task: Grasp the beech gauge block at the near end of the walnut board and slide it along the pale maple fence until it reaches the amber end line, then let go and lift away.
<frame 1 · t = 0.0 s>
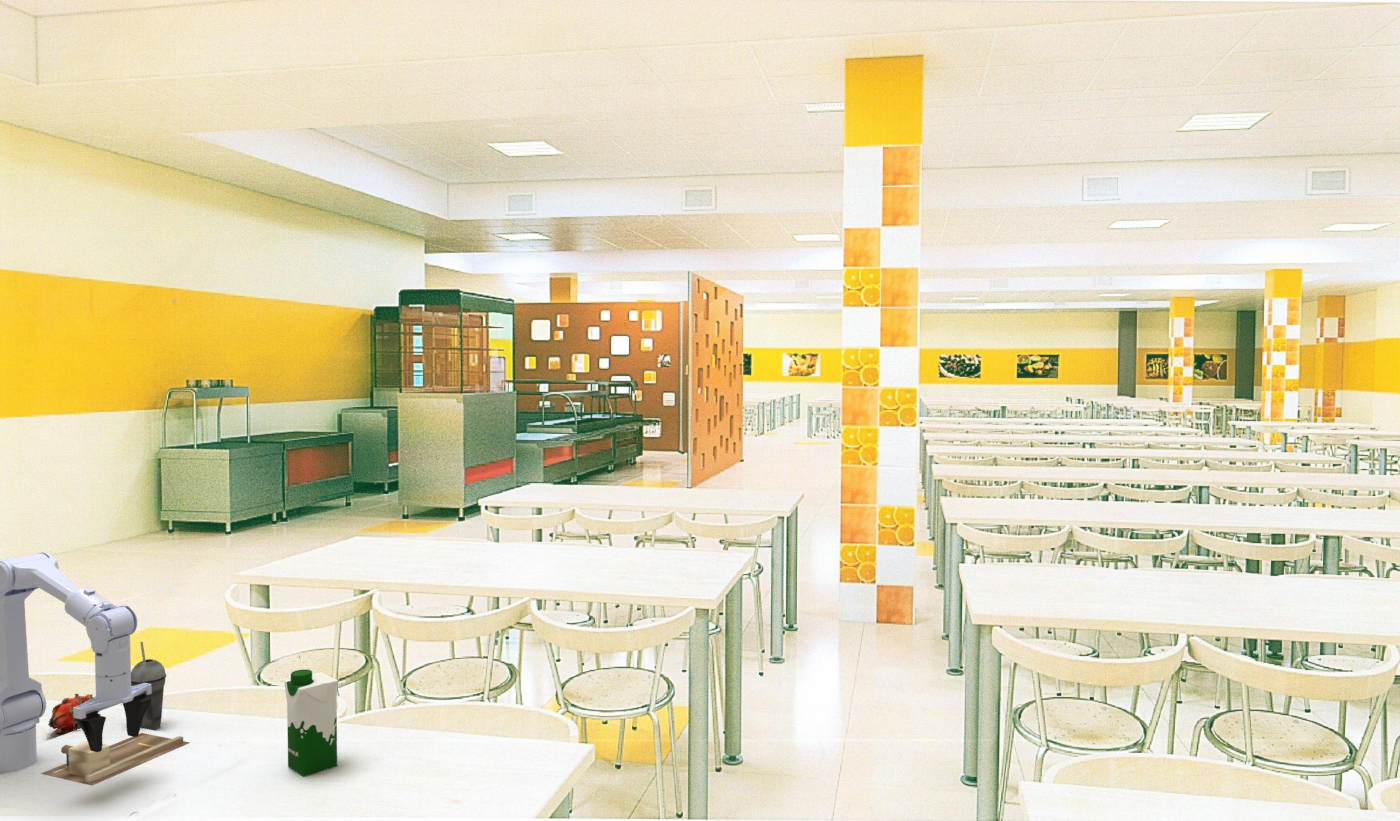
hand: (114, 742, 182), 10 cm above the table, tool pointing down, fingers open, 7 cm apart
walnut board: (118, 764, 196), on the table
gauge block: (89, 771, 189), point 1 cm above the table, touching walnut board
milk carton: (313, 767, 196), on the table
beverage cup: (149, 729, 215), on the table
dragon fruit: (74, 731, 214), on the table
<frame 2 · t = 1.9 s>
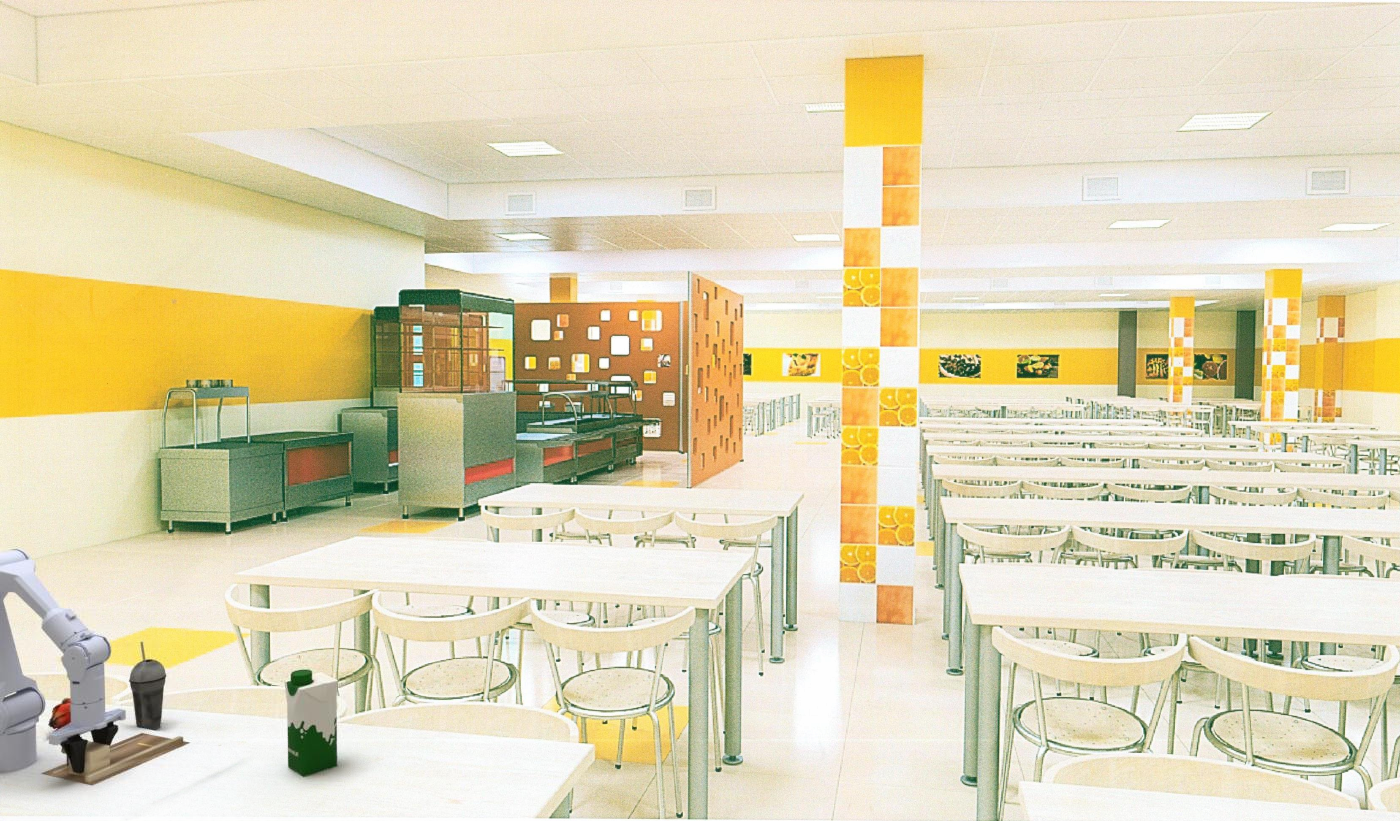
hand: (89, 767, 189), 2 cm above the table, tool pointing down, fingers closed on gauge block, 4 cm apart
gauge block: (89, 771, 189), point 1 cm above the table, touching gripper, walnut board
everything else where it was.
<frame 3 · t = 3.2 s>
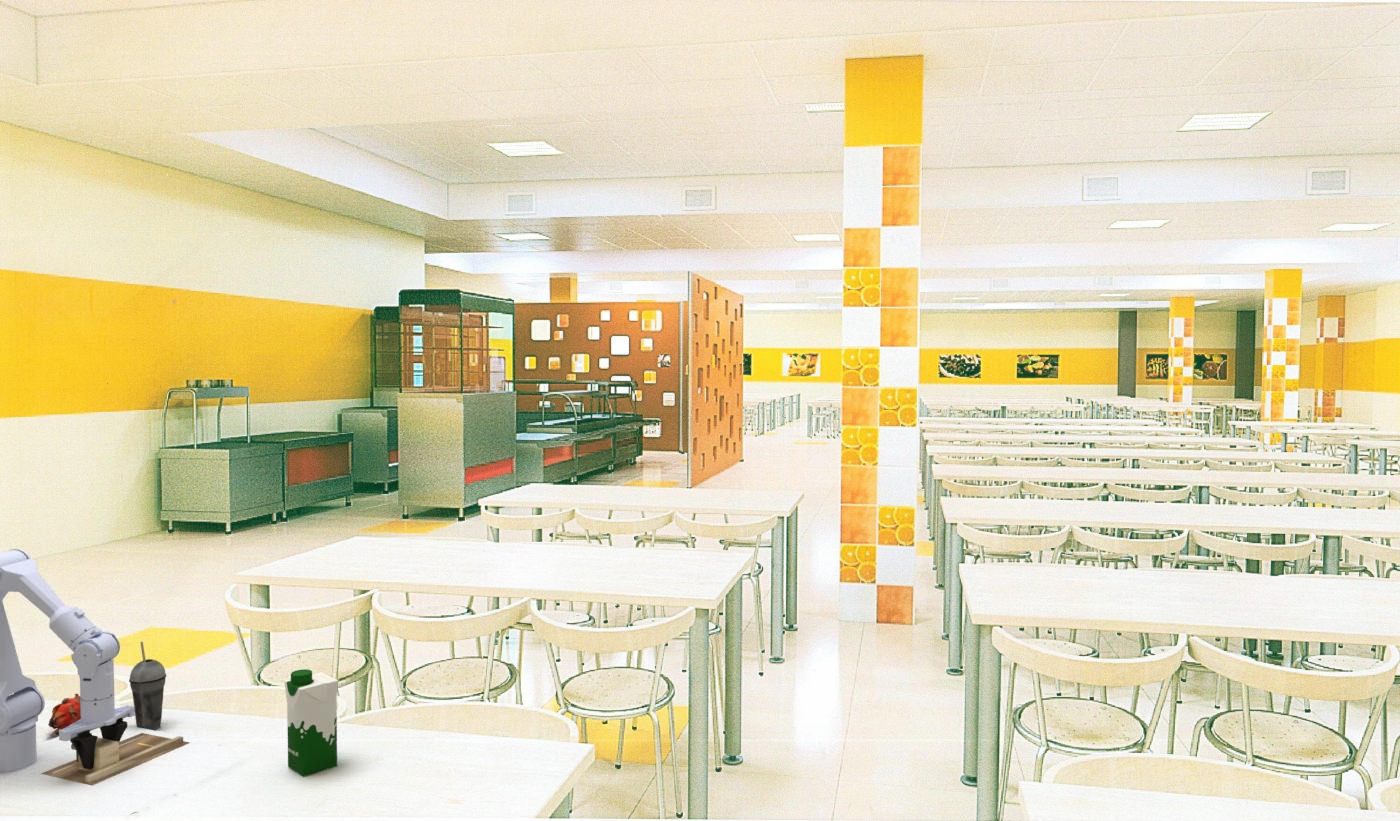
hand: (99, 763, 191), 2 cm above the table, tool pointing down, fingers closed on gauge block, 4 cm apart
gauge block: (99, 767, 191), point 2 cm above the table, touching gripper
everything else where it was.
when the fingers open (2 cm above the table, at t = 4.9 s): gauge block stays where it is, resting on walnut board.
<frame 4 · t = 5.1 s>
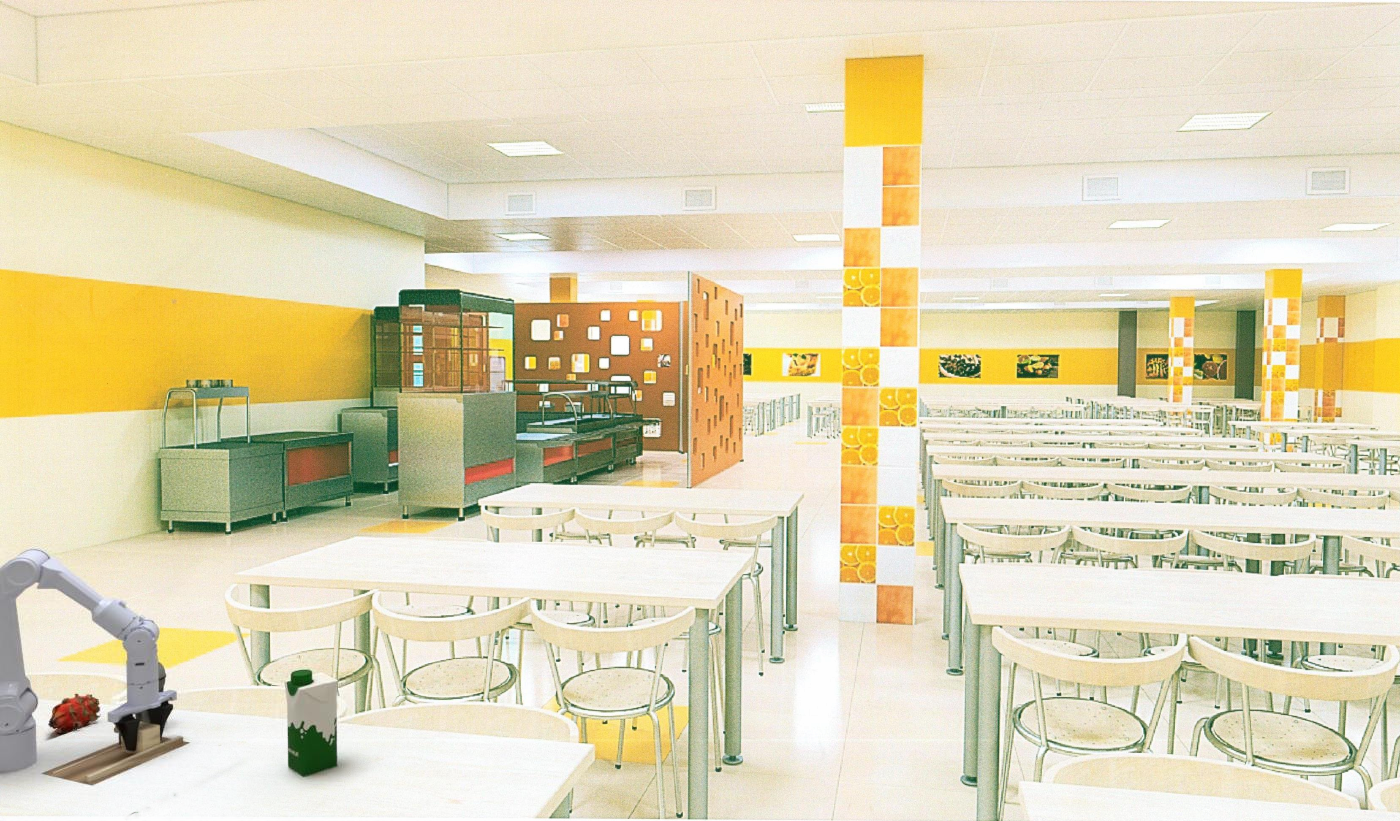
hand: (144, 744, 200), 2 cm above the table, tool pointing down, fingers open, 5 cm apart
gauge block: (141, 749, 200), point 2 cm above the table, touching gripper, walnut board
everything else where it was.
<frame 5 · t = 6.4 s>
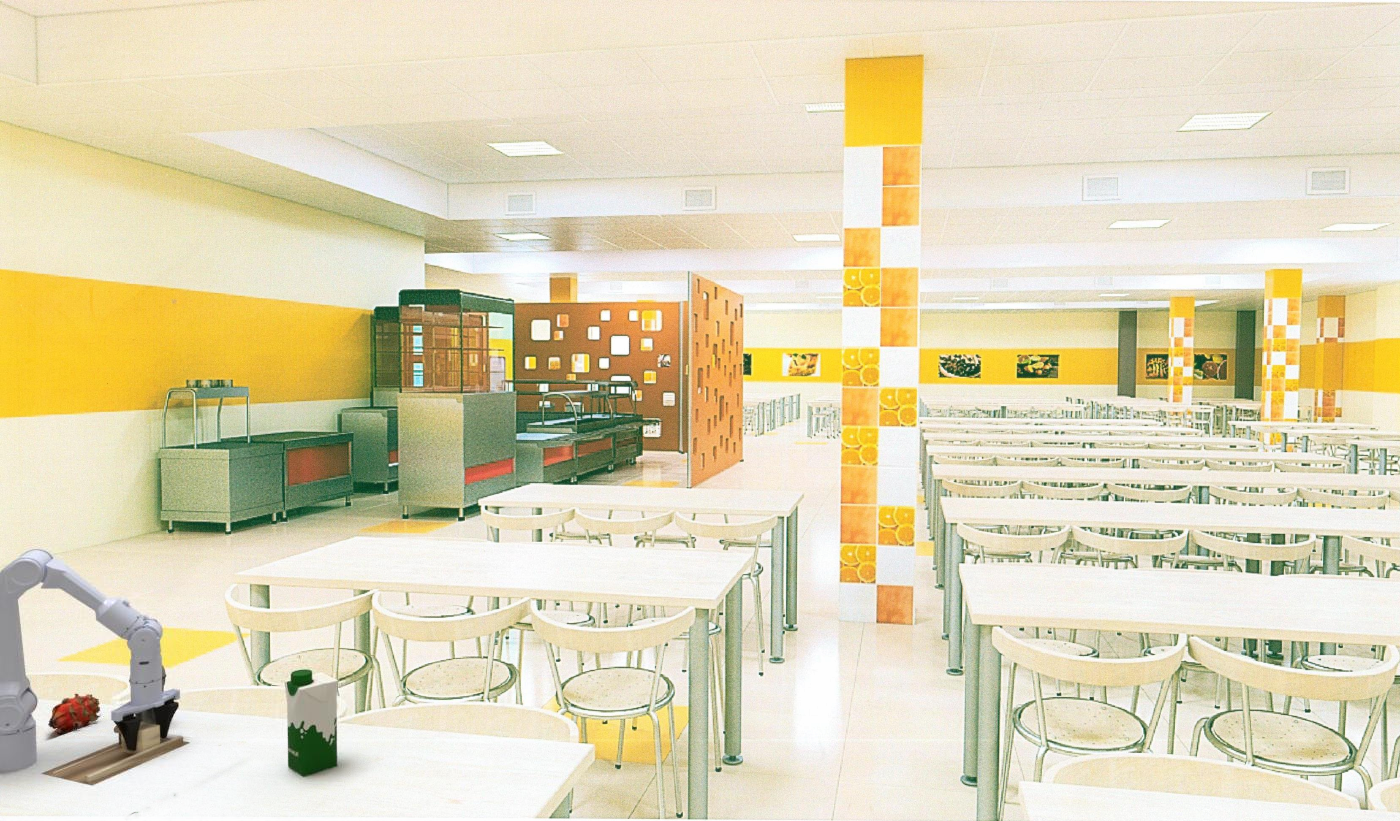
hand: (147, 743, 201), 2 cm above the table, tool pointing down, fingers open, 6 cm apart
nothing on the table moved.
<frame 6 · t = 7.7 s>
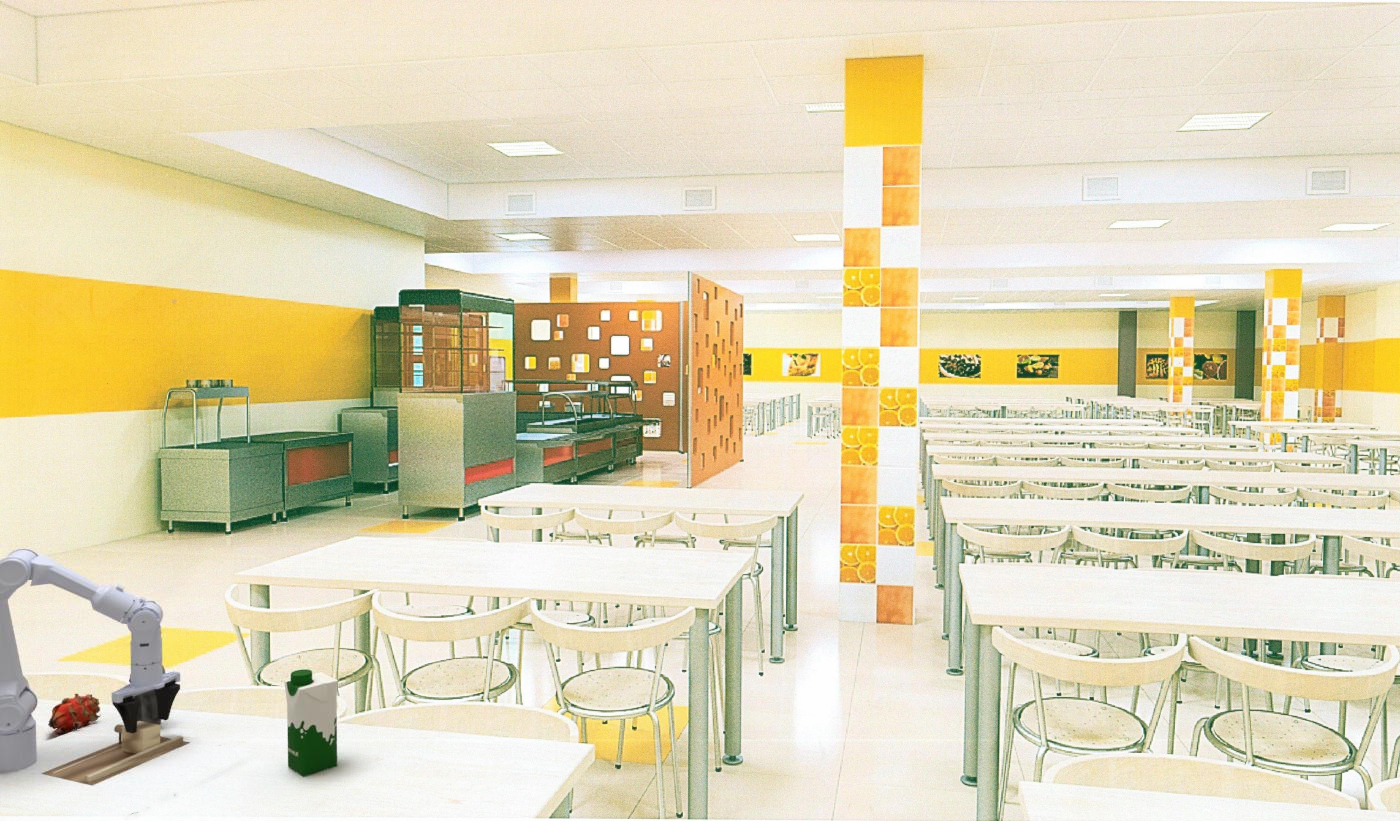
hand: (147, 725, 201), 6 cm above the table, tool pointing down, fingers open, 7 cm apart
nothing on the table moved.
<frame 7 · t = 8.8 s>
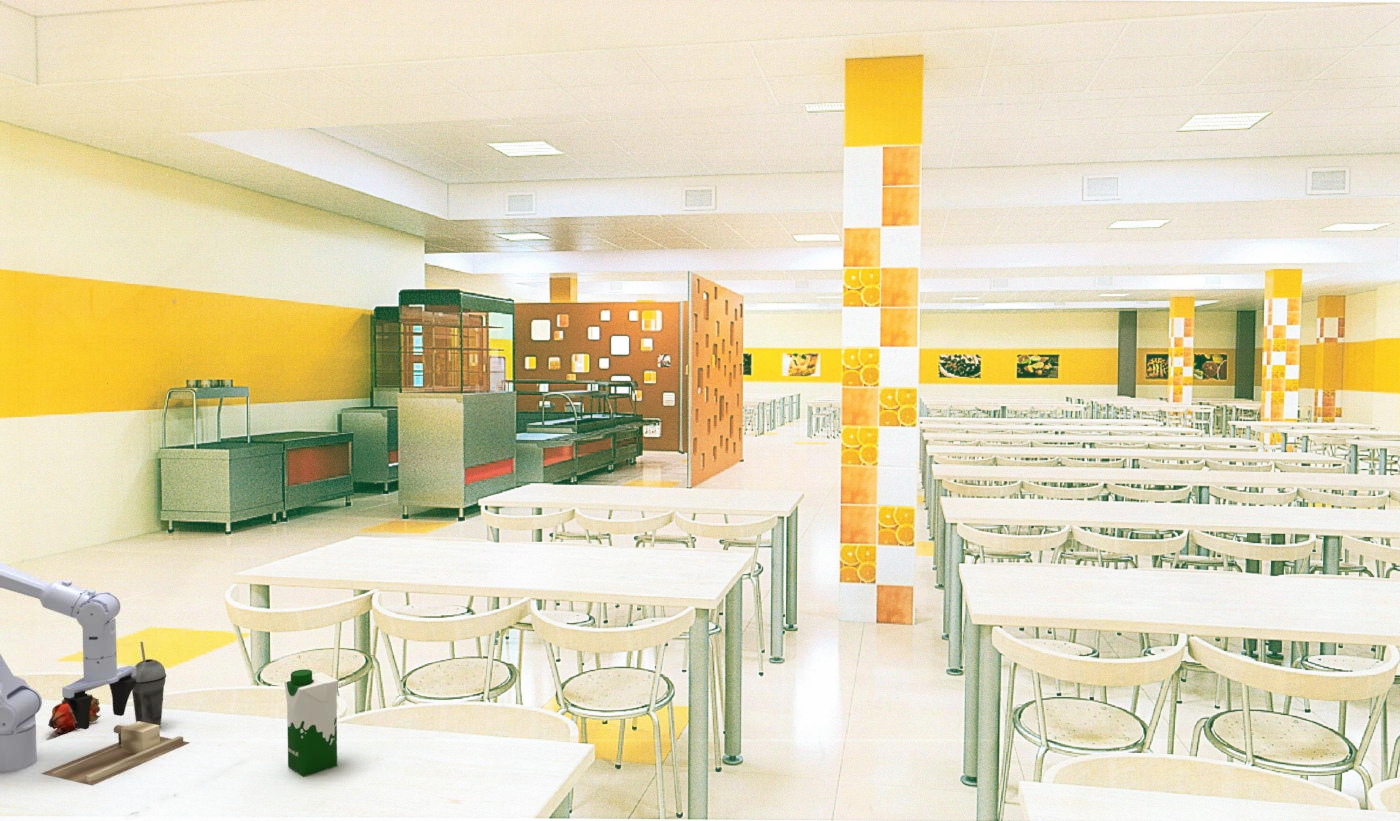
hand: (101, 721, 195), 9 cm above the table, tool pointing down, fingers open, 7 cm apart
gauge block: (140, 750, 200), point 1 cm above the table, touching walnut board
everything else where it was.
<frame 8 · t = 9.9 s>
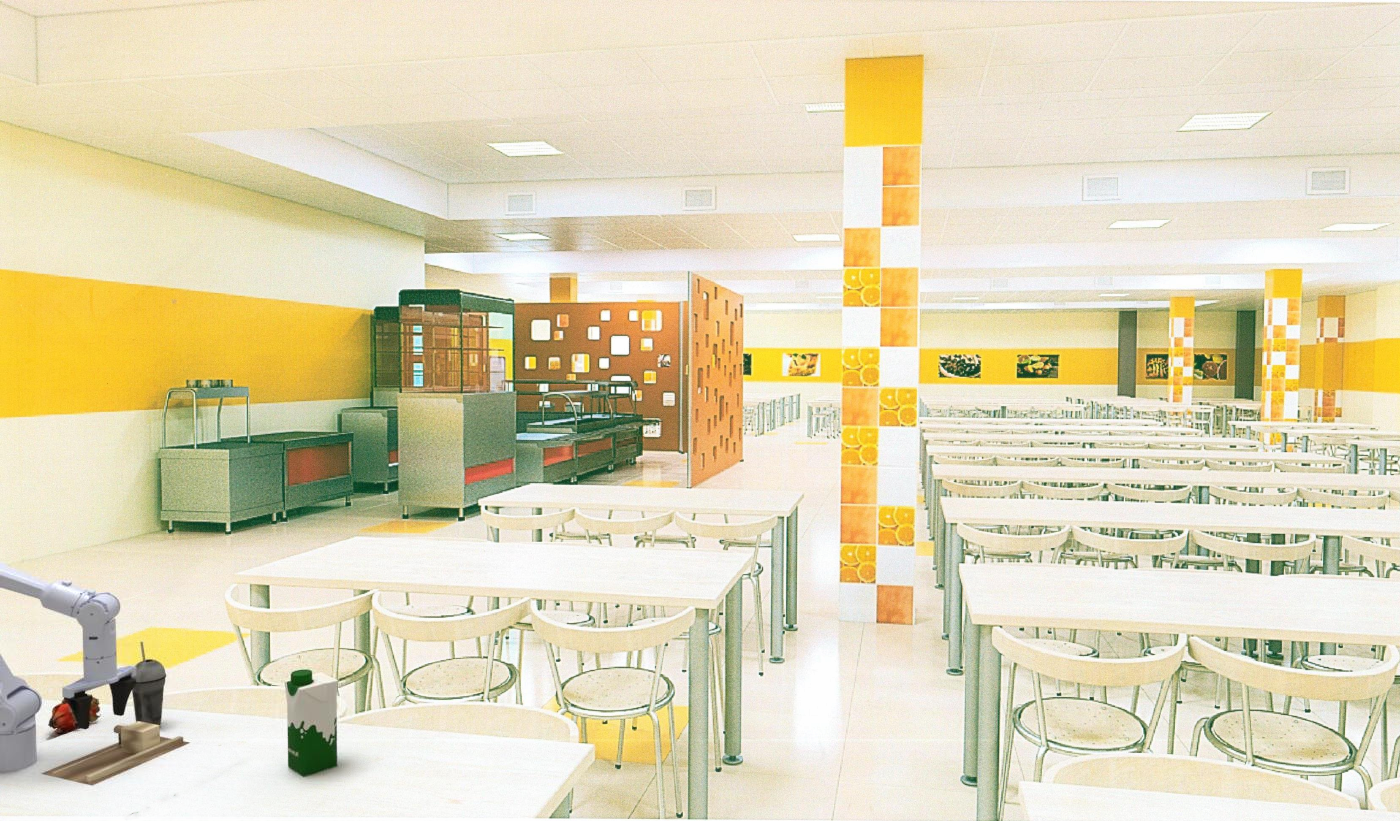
hand: (101, 721, 195), 9 cm above the table, tool pointing down, fingers open, 7 cm apart
nothing on the table moved.
at the end: gauge block 2.1 cm from the target spot, point 1.5 cm above the table; gauge block tilted 0°; the gripper is holding nothing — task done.
